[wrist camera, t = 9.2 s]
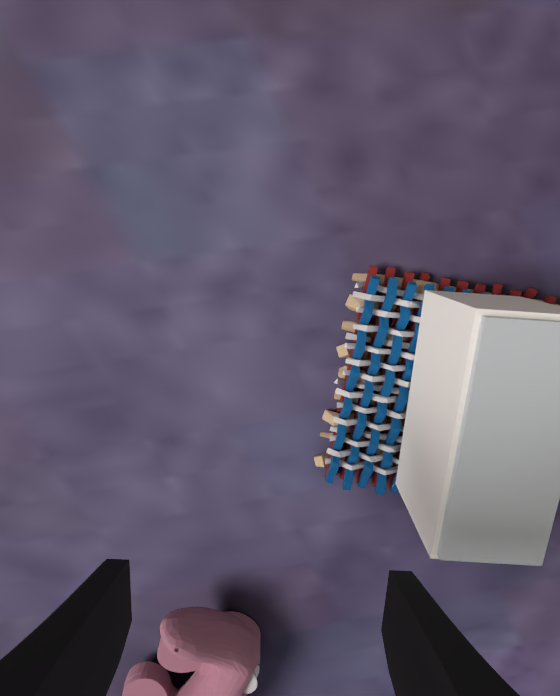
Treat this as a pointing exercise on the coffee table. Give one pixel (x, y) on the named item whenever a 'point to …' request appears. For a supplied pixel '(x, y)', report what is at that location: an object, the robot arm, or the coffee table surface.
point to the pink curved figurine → (201, 655)
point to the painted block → (483, 428)
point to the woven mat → (381, 374)
